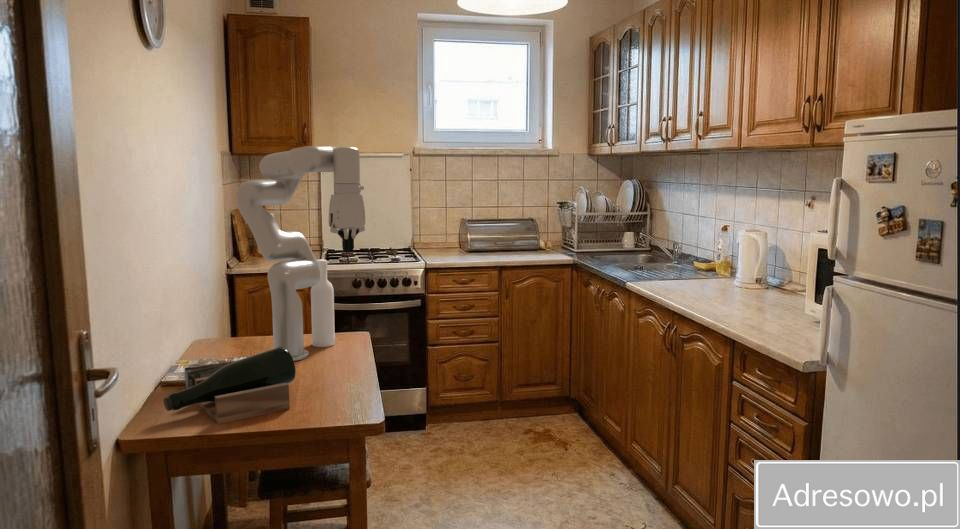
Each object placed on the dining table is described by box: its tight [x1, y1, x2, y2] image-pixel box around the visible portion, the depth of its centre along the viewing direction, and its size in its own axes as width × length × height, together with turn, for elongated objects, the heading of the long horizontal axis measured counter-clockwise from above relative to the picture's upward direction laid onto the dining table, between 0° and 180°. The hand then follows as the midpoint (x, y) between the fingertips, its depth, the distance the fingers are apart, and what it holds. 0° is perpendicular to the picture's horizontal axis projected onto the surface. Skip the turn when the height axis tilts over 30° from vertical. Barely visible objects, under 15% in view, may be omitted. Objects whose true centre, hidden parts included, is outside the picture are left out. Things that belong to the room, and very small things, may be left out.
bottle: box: [310, 258, 336, 348], centre depth 239 cm, size 8×8×30 cm
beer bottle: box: [163, 347, 297, 412], centre depth 178 cm, size 10×10×33 cm
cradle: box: [195, 377, 290, 425], centre depth 179 cm, size 19×18×6 cm
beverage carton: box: [184, 360, 236, 389], centre depth 195 cm, size 8×19×7 cm, turn 119°
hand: (348, 251), depth 203 cm, fingers closed
